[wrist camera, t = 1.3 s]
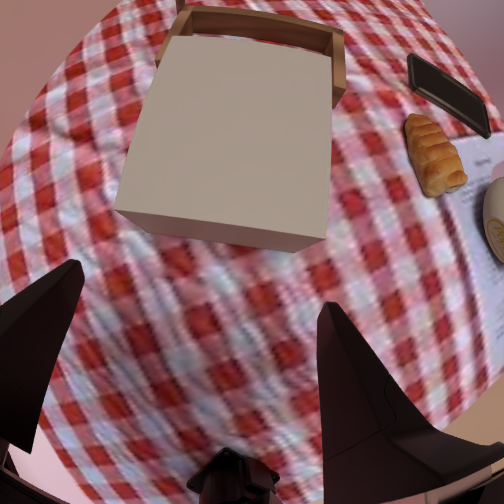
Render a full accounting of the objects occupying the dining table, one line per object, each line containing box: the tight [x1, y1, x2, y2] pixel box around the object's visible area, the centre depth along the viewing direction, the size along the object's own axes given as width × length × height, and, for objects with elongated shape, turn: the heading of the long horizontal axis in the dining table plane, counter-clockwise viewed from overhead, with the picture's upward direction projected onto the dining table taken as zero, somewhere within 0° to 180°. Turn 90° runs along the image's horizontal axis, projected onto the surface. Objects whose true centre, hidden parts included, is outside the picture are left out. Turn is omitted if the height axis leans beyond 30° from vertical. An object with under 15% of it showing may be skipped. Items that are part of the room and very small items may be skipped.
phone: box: [407, 53, 491, 139], centre depth 28 cm, size 8×1×15 cm
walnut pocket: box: [155, 0, 346, 109], centre depth 18 cm, size 11×21×15 cm, turn 81°
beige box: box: [114, 36, 332, 253], centre depth 20 cm, size 14×12×8 cm
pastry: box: [405, 113, 468, 197], centre depth 24 cm, size 9×7×4 cm
